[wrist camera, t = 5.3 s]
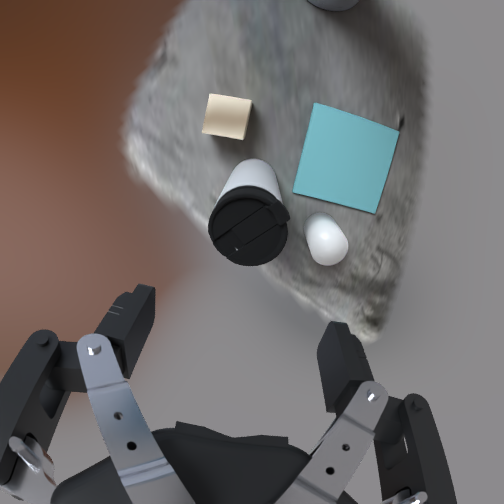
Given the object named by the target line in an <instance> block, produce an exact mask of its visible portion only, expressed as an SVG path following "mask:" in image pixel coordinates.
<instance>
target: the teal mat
mask: <svg viewBox="0 0 504 504" xmlns="http://www.w3.org/2000/svg"><path fill="white" fill-rule="evenodd" d="M398 135H399V132H398V131H396V130H393V129H391V128H388V127H386V126H383V125H381V124H378V123H376V122H373V121H370V120H367V119H365V118H362V117H359V116H356V115H353V114H350V113H347V112H344V111H341V110H338V109H335V108H331V107H328V106H325V105H321V104H318V103H314V105H313V110H312V114H311V118H310V122H309V126H308V130H307V134H306V138H305V142H304V146H303V150H302V154H301V158H300V162H299V166H298V170H297V174H296V178H295V182H294V186H293V190H292V192H294V193H298V194H302V195H306V196H310V197H315V198H319V199H323V200H326V201H330V202H334V203H338V204H342V205H346V206H349V207H353V208H357V209H360V210H364V211H367V212H371V213H374V214H375V212H376V209H377V206H378V203H379V200H380V197H381V194H382V190H383V187H384V184H385V181H386V178H387V174H388V171H389V168H390V164H391V161H392V157H393V154H394V150H395V146H396V143H397V139H398Z"/></svg>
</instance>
